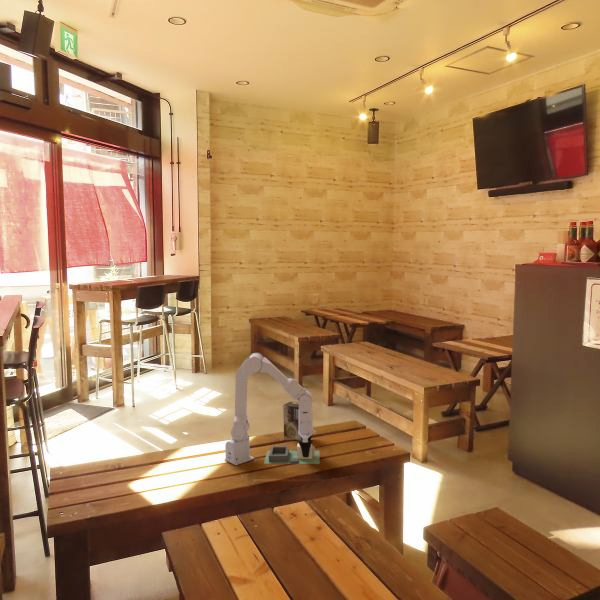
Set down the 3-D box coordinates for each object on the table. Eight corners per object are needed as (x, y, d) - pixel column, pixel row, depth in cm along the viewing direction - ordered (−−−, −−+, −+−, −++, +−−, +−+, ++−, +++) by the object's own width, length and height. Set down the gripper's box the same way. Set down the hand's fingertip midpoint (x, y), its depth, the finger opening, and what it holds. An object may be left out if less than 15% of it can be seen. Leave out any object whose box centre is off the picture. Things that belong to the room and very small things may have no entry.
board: (263, 466, 196) (263, 457, 195) (267, 452, 210) (267, 444, 209) (319, 466, 195) (319, 457, 195) (319, 452, 209) (319, 444, 209)
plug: (297, 458, 200) (297, 446, 200) (297, 455, 204) (297, 443, 204) (314, 458, 200) (314, 446, 199) (314, 455, 204) (314, 443, 203)
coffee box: (307, 438, 226) (307, 403, 225) (300, 442, 221) (299, 407, 220) (291, 434, 231) (290, 401, 230) (283, 439, 226) (282, 404, 225)
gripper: (315, 426, 193) (315, 460, 194) (315, 415, 208) (315, 446, 209) (297, 426, 194) (297, 460, 195) (298, 415, 208) (299, 446, 209)
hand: (306, 453), depth 202 cm, fingers open, 7 cm apart
